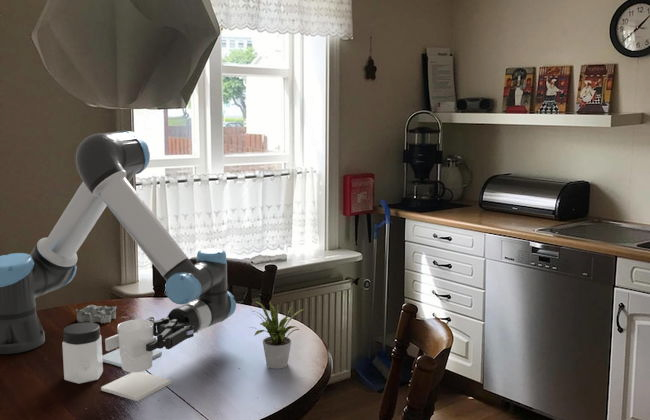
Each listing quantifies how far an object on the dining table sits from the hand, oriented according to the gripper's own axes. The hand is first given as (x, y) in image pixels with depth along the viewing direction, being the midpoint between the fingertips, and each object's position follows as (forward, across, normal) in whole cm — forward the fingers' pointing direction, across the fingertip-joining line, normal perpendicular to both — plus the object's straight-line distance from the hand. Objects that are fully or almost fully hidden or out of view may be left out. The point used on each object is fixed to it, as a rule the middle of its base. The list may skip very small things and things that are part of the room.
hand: (120, 348), depth 154 cm
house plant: (-32, -19, -11) cm, 39 cm away
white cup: (-5, 0, -6) cm, 8 cm away
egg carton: (-34, +45, -11) cm, 57 cm away
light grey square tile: (-17, +14, -11) cm, 25 cm away
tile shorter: (-5, 0, -11) cm, 12 cm away
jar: (-3, +15, -11) cm, 19 cm away
